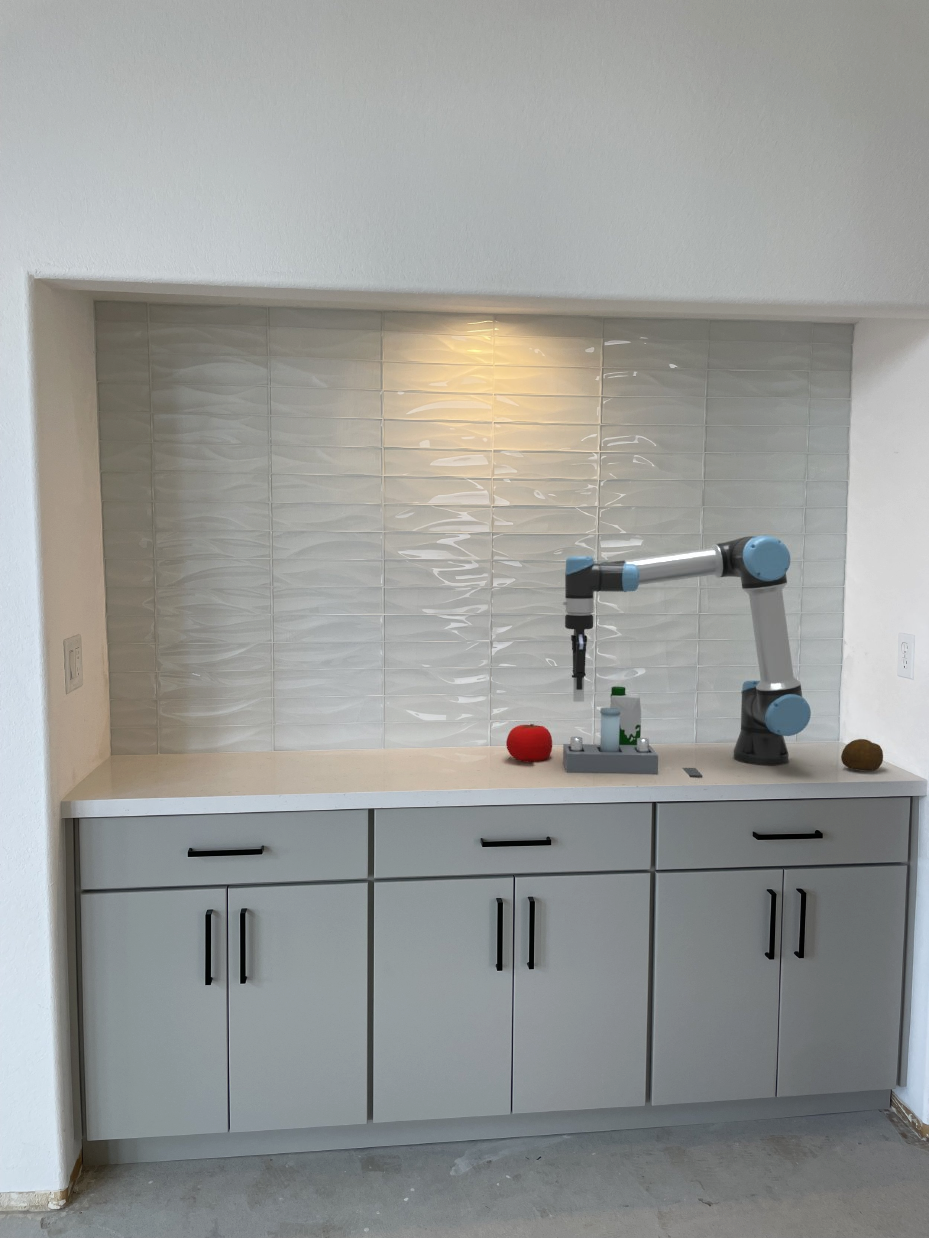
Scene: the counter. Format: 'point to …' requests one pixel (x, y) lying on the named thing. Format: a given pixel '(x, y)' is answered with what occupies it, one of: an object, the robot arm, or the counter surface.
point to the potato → (862, 755)
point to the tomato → (529, 743)
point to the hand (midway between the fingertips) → (578, 700)
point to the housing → (610, 760)
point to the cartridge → (610, 729)
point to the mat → (693, 772)
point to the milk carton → (627, 715)
